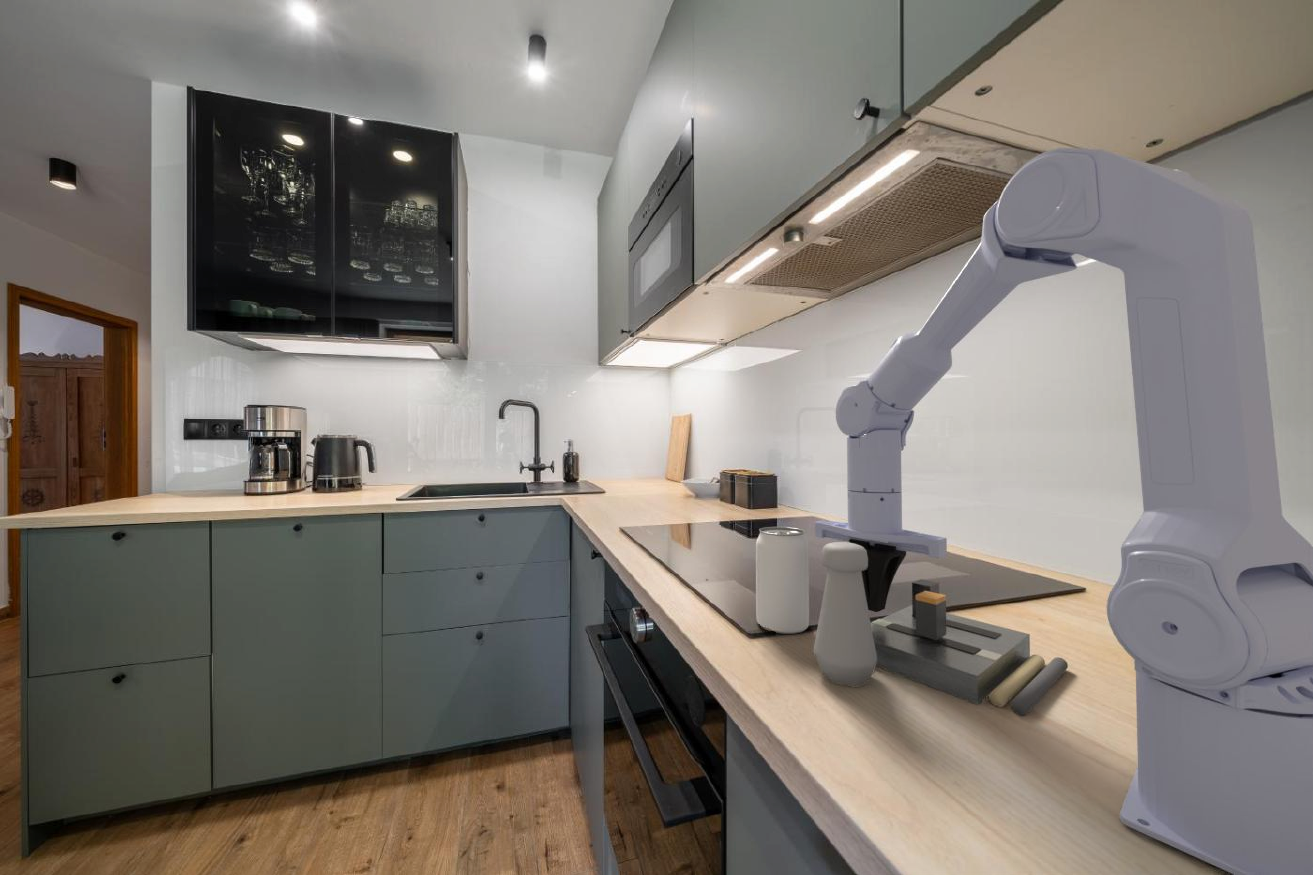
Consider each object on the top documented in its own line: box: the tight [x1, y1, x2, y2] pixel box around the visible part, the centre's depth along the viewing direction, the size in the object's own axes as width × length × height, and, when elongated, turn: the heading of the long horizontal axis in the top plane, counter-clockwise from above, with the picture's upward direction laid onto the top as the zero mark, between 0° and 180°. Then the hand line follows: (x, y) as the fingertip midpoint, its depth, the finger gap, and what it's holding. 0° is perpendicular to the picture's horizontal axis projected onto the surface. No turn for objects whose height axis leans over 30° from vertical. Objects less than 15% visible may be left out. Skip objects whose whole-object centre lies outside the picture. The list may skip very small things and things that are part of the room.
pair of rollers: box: [988, 654, 1069, 716], centre depth 44 cm, size 3×14×1 cm, turn 128°
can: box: [755, 526, 810, 635], centre depth 59 cm, size 6×6×12 cm
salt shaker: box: [813, 541, 877, 688], centre depth 46 cm, size 6×6×13 cm
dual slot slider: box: [870, 578, 1031, 705], centre depth 50 cm, size 12×15×7 cm
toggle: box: [916, 591, 947, 640], centre depth 49 cm, size 2×2×4 cm
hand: (875, 608), depth 54 cm, fingers closed
